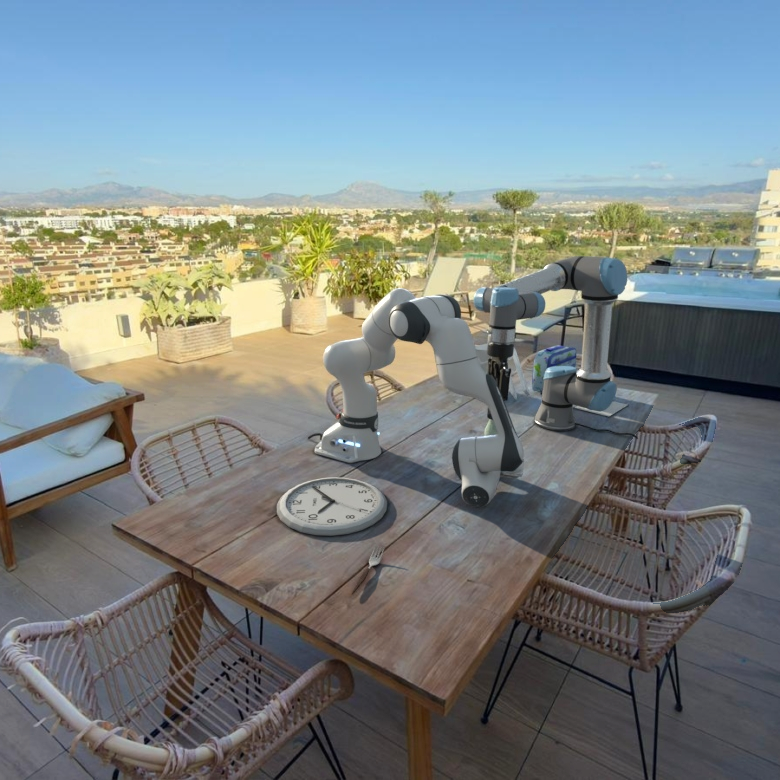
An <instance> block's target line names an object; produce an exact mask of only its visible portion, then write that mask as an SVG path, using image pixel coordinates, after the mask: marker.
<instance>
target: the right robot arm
mask: <svg viewBox="0 0 780 780" xmlns="http://www.w3.org/2000/svg"><path fill="white" fill-rule="evenodd" d="M627 284H628V271H627V267H626V264H624V262H623V261H622V260H621V259H619V258H614V257H609V256H586V255H585V256H584V255H575V256H569V257H566V258H563V259H560V260H557V261H554V262H551V263H548V264H546V265H545V266H544V267H543V269H541V270H538V271H535V272H533V273H530V274H527V275H525V276H522V277H518V278H516V279H514V280H512V281H508V282H505V283H503V284H501V285H498V286H495V287H488V286H487V287H479V288H478V289H476V291H475V293H474V296H473V305H474V308H475V310H478V311H480V312H483V313H484V314H485V313H488V314H489V322H488V323H489V324H488V330H487V331H486V334H487V335H488V337H487V340H488V342H487V343H488V346H487V354H488V355H489V356H492V358H488V374H489V375H492V376H493V377H494V379H495V380H496V382H497V384H498V387H499V389H500V391H501V394H502V396H503V399H504V402H507V401H508V400H509V393H510V390H509V381H510V375H511V374H512V368H511V367H510V368H509V362H508V361H507V358H509V357H512V356H513V351H514V348H515V344H514V343H515V341H516V330H517V321H519V320H529V319H535V318H537V317H540V316H541V315H542V314H543V313H544V312H545V309H546V300H545V297H544V295H542V294H545V293H547V292H548V293H549V292H550V291H551V292H557V291H560V290H571V291H579V292H581V295H580V296H581V298H580V299H581V300H582V301H583V302H584V303H585V307H584V318H583V333H582V346H581V363H580V368H579V369H578V368H577V367H576V366H575V367H572V366H554V367H550V368H547V369H546V371H545V374H544V378H543V379H544V382H543V391H542V394H541V402H540V405H539V407H538V410H537V411H536V413H535V417H534V424H535V425H536V426H537V427H539V428H542V429H544V430H549V431H556V432H567V431H572V430H574V429H575V428H576V426H579V427H583V428H586V429H589V430H592V431H595V432H609V433H612V434H613V435H617V436H618V435H619V436H631V437H634V438H635V439H637V440H639V437H638V436H637V435H636V434H634V433H632V432H617V431H613V430H611V429H606V428H602V429H599V428H594V427H591V426H588V425H586V424H582V423H577V422H576V418H575V417H576V416H575V413H574V407H573V405H574V406H580V407H584V408H587V409H589V410H594V411H599V412H600V411H604V410H606V409H607V408H608V407H609V406H610V405H611V403H612V401H614V400H615V398H616V394H617V389H618V387H617V384H616V382H615V381H613V380H611V379H612V378H611V377H612V374H611V372H610V371H609V370H608V358H609V349H610V336H611V324H612V315H613V304H614V303H615V302H616V301H617V300H618V299H619V295H621V294H623V292H624V291H625V290H626V286H627ZM488 411H490V410H489V408H488V407H487V412H488Z"/></svg>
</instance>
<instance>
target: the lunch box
mask: <svg viewBox="0 0 780 780" xmlns="http://www.w3.org/2000/svg"><path fill="white" fill-rule="evenodd" d="M576 362H577V348H576V347H571V346H565V345H553V346H550V347H546V348H545V349H542V350H539V351H538V352H537V353H536V354H535V356H534V358H533V365H532V376H531V377H532V378H531V390H532V391H533V392H537V393H542V391H543V382H544V379H543V378H544V374H545V371H546V369H547V368H550V367H554V366H572V367H575V368H576V364H577V363H576Z"/></svg>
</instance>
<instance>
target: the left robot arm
mask: <svg viewBox="0 0 780 780" xmlns="http://www.w3.org/2000/svg"><path fill="white" fill-rule="evenodd" d="M361 335H362V336H361V337H358V338H353V339H346V340H340V341H337V342H335V343H332V344H330V345H328V346H326V348H325V349H324V352H323V354H322V362H323V367H324V368H325V370H326V371H327V373H329V374H330V375H331V376H333V377H334V378H335V379H336V380H337V381H338V383H339V385H340V388H341V393H342V406H343V407H342V409H341V410H340V412H338V414H337V415H336V420H338V421H337V422H335V423H334V424H332V425H331V426H330V427H328V428H327V429H326V430H324V431H323V432H315V433H313V434H310V435H308V436H307V440H310V439H312V438H314V437H316V436H317V437H318V436H319V442H318V443H317V444H316V445H315V447H314V454H316V455H320V456H322V457H326V458H330V459H332V460H333V459H334V460H337V461H340V462H344V463H347V464H353V463H357V462H361V461H368V460H372V459H375V458H377V457H379V456H380V455H381V454H382V448H381V445H380V440H379V435H380V432H378V429H379V412H378V392H377V389H376V388H375V387H374V385H372V384H371V383H368V382H367V381H366V379H365V373H367V372H368V373H369V372H373V371H377V370H381V369H383V368H386V367H387V366H390V365H391V364H393V362H394V361H395V358H396V347H395V345H394V344H395V343H396V341H397V340H399V341H402V342H407V343H413V344H418V345H422V344H423V343H425V342H427V343H429V345H430V346H431V348H432V350H433V354H434V361H435V368H436V371H437V375H438V379H439V381H440V383H441V385H443V387H444V388H445V389H447V390H448V391H450V392H452V393H454V394H457V395H460V396H464V397H470V398H473V399H476V400H479V401H480V402H482V403H483V404H485V405H486V406H487V409H488V408H489V410H490V413H491V415H492V418H493V421H494V424H495V426H496V429H497V432H498V434H495V435H487V436H484V435H475V436H466V437H460V438H459V439H458V440H457V441H456V443H455V444H454V446H453V449H452V453H451V454H452V455H451V462H452V466H453V470H454V475H455V477H456V479H459V480H460V481H461V497H462V500H463V501H464V503H466V504H467V505H469V506H470V507H473V508H482V507H485V506H487V505H488V504H489V503H491V501H492V500H493V498H494V497H495V495H496V491H497V488H498V484H499V482H500V479H501V477H502V478H507V479H515V480H516V479H518V478H522V477H523V476H524V465H525V452H524V447H523V444H522V441H521V440H520V438H519V435H518V433H517V431H516V428H515V426H514V424H513V421H512V418H511V415H510V412H509V410H508V407H507V405H506V401H504V399H503V396H502V394H501V391H500V389H499V387H498V384H497V382H496V380H495V379H494V377H493V376H492V375H489V374H487V373H486V372H485V371H484V370H483V369H482V367H481V365H480V363H479V361H478V357H477V352H476V347H475V346H476V344H475V340H474V337H473V335H472V331H471V329H470V326H469V325H468V323H467V321H466V320H464V319H462V309H461V305H460V303H459V302H458V300H457V299H455V297H453V296H451V295H447V294H434V295H426V296H421V297H418V298H416V296H415V295H414V294H413V293H412V292H411V291H410V290H408V289H405V288H400V287H398V288H394V289H392V290H391V291H390V292H388V293H387V294H386V295H385V296H384V297H383V298H382V299H380V301H379V302H378V303H377V304H376V305H375V307H374V308H373V309H372V310H371V312H370V313H369V314H368V315H367V317H366V318H365V320H364V321H363V323H362V325H361Z"/></svg>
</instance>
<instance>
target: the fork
mask: <svg viewBox="0 0 780 780" xmlns="http://www.w3.org/2000/svg"><path fill="white" fill-rule="evenodd" d="M376 547H377V548H376ZM379 547H380V545H378V546H377V545H375V546H374V548H373V551H372V553H371V555H370V557H369V560H368V564H369V566H368V567H367V569H365V571H364V572H363V573H362V574H361V575H360V577H359V578H358V580H357V582H356V584H355V586H354V587H353V590H352V592H351V595H352V596H353V595H354V594H355V593H356V592H357V590H358V589H359V588H360V586H362V584H363V583H364V582H365V580H366V578H367V576H368V575H369V572H370V570H371V568H372V567H374V566H377V565H379V564H380V563H381V561H382V558H383V554H384V551H385V548H382V547H380V548H379ZM381 550H382V551H381Z"/></svg>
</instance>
